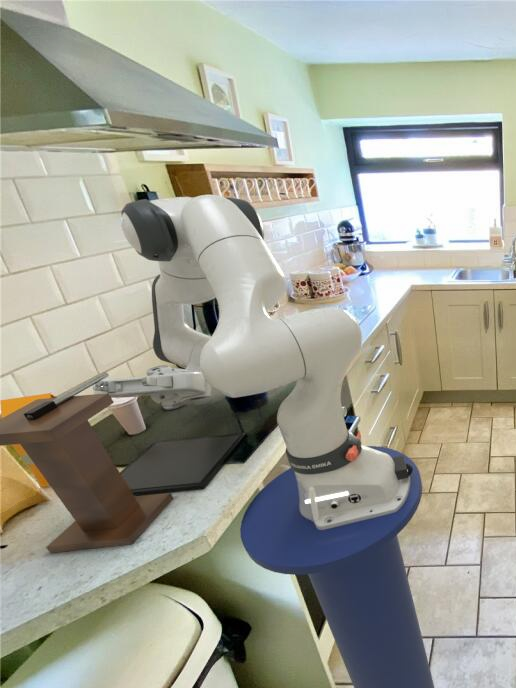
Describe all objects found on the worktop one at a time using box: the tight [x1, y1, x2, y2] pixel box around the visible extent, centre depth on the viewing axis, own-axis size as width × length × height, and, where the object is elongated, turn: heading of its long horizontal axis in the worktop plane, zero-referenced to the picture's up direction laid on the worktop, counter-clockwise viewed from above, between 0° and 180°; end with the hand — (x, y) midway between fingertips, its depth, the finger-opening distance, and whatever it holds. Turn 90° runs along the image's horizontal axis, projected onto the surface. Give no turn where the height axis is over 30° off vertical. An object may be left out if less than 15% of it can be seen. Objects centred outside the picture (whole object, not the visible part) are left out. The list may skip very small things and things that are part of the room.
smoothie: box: [106, 397, 147, 436], centre depth 108 cm, size 6×6×14 cm
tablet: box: [119, 432, 248, 497], centre depth 96 cm, size 22×20×1 cm
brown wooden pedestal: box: [0, 393, 174, 554], centre depth 75 cm, size 14×12×25 cm
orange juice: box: [0, 392, 58, 488], centre depth 91 cm, size 8×9×20 cm
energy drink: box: [146, 364, 184, 411], centre depth 120 cm, size 5×5×12 cm
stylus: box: [24, 371, 110, 420], centre depth 74 cm, size 1×16×1 cm, turn 6°
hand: (121, 383), depth 84 cm, fingers open, 8 cm apart
